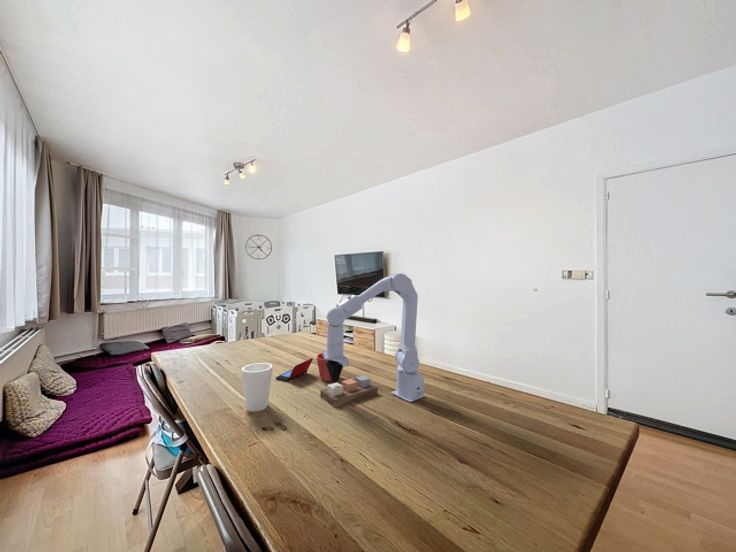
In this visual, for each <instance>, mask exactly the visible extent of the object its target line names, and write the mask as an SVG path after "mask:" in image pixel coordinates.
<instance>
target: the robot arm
mask: <svg viewBox="0 0 736 552" xmlns="http://www.w3.org/2000/svg"><path fill="white" fill-rule="evenodd" d="M392 291H393V292H394V293H396V294H397V295H398V296H399V297H400V298H401V299H402V315H401V328H400V329H401V330H400V331H401V332H400V333H401V334H400V343H399V344H398V348H397V351H396V353H395V361H396V363H397V368H396V390H393V391H392V392H391V394H393V395H395V396H397V397H399V398H401V399H403V400H405V401H407V402H409V403H412V402H414V401H417V400H420V399H423V398H425V397H426V394H425V379H424V376H423V375H422V374H421V373H420V372H418V369H419V367H420V359H419V356H418V350H417V345H416V333H417V332H416V331H417V318H418V316H417V315H418V298H419V297H418V296H419V295H418V293H417V291H416V289H415V287H414V284H413V280H412V279H411V278H409V276H407V275H406V274H404V273H391V274H389V275H388V276H385V277H383V278H382V279H379V280H378V281H377V282H376V283H374V284H373V285H371V286H370V287H369V288H367V289H366V290H365V291H362V292H361V293H360V294H359V295H356V294H352V295H348V296H346V299H345V300H344V301H341V302H340V303H337V304H335V307H331V308H330V309H329V310H328V311H327V313H326V319H327V325H326V326H327V329H326V350H323V351H322V353H323V357H324V359H325V360H329V361H326V362H325V364H326V366H327V368H328V370H329V373H330V378H331V384H333V383H339V382H340V377H341V373H342V370H343V368H345V367H349V366H350V359H348V358H347V357H346V356H345V355H344V345H345V344H344V341H345V339H344V336H345V335H344V323H345V320H346V319H349V318H350V317H352V316H353V315H355V314H357V313H358V312H359V311H361V310H362V309H363V306H364V304H365V303H366V302H368V301H370V300H371V299H373V298H374V297H377V295H379V294H381V293H383V292H392Z"/></svg>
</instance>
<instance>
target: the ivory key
mask: <svg viewBox="0 0 736 552" xmlns="http://www.w3.org/2000/svg"><path fill="white" fill-rule="evenodd" d="M341 384H342V383H339V382H336V383H329V384H327V386H326V389H327V393H328V394H329V395H331V396H337V395H340V394H343V386H342V385H341Z"/></svg>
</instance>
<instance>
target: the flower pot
mask: <svg viewBox="0 0 736 552" xmlns="http://www.w3.org/2000/svg"><path fill="white" fill-rule="evenodd" d="M316 361H317V362H316V363H317V367H318V372H319V377H320V380H321V379H322V380H324V381H323V382H327V381H331V378H330V373H329V370H328V368H327V366H326V364H325V362H326V361H329V360H325V359H324V357H323V352H321V353H319V354H317V355H316ZM322 380H321V381H322Z"/></svg>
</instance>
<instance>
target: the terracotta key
mask: <svg viewBox="0 0 736 552" xmlns="http://www.w3.org/2000/svg"><path fill="white" fill-rule="evenodd" d="M341 384H342V386H343V390H345V391H347V392H350V391H353V390H357V382H356V381H355V380H354V379H352V378H348V379H344V380H341Z"/></svg>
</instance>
